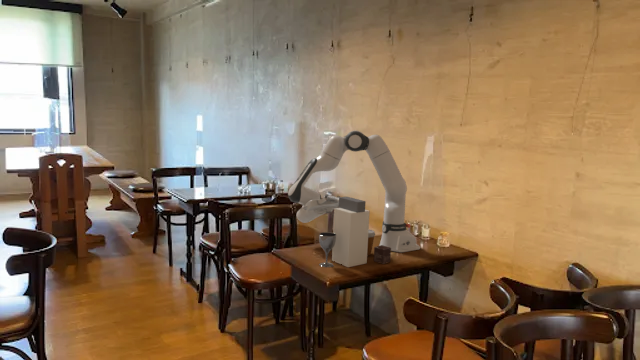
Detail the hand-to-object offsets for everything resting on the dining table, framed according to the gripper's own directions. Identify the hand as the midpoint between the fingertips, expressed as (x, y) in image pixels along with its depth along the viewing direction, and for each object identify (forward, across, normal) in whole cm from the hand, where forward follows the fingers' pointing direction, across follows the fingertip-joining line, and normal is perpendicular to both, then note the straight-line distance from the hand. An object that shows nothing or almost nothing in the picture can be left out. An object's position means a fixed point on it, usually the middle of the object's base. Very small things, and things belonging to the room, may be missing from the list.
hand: (332, 198), depth 250 cm
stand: (-2, 0, +32) cm, 32 cm away
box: (+5, +14, +37) cm, 40 cm away
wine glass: (-4, -13, +32) cm, 34 cm away
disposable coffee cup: (-7, +16, +30) cm, 34 cm away
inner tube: (+5, 0, +5) cm, 8 cm away
